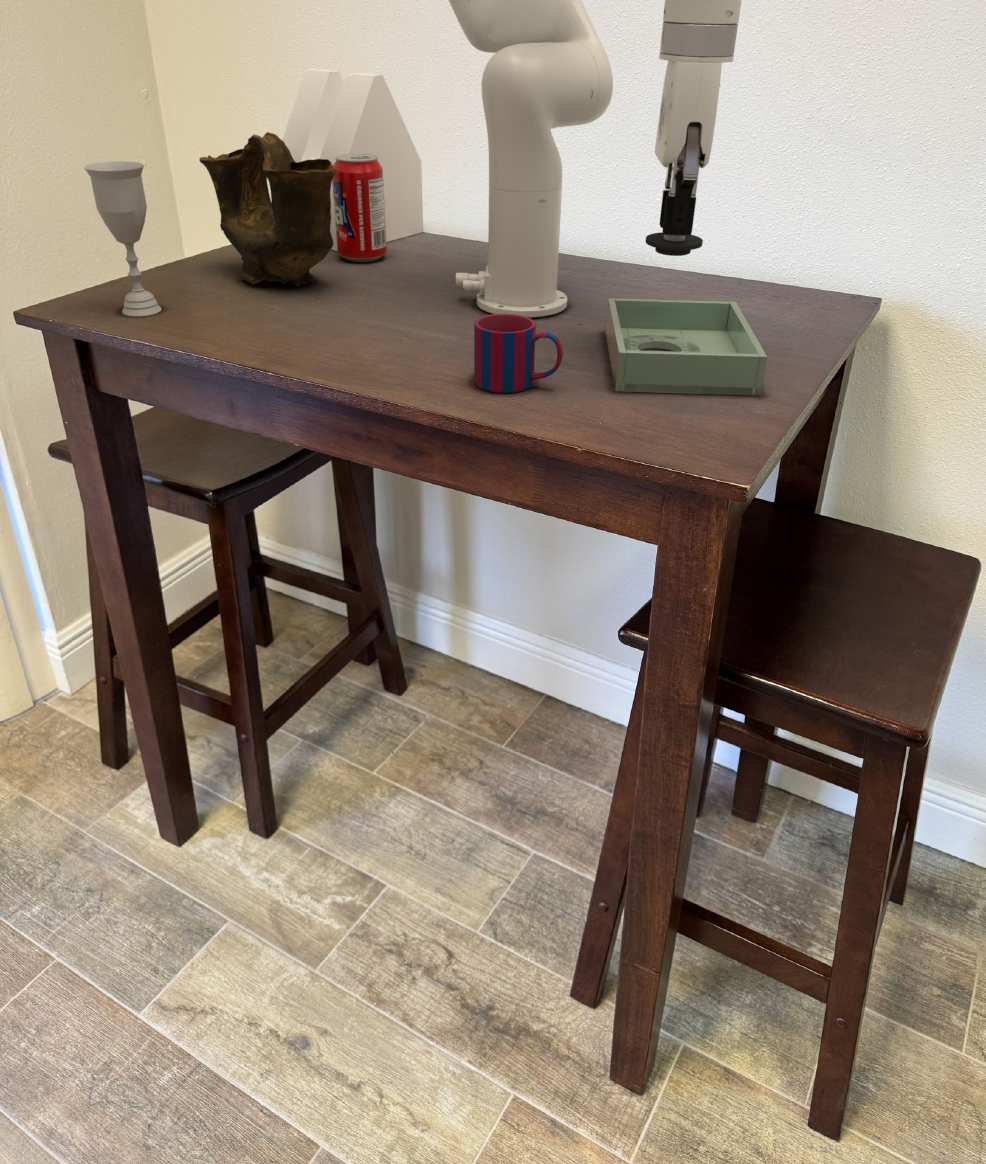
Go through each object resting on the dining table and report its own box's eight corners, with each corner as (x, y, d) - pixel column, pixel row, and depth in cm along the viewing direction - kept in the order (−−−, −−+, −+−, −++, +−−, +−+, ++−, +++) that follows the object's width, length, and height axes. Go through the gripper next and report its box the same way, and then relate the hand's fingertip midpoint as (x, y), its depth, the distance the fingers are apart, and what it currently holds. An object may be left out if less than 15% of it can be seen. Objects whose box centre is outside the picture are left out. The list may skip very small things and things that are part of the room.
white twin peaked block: (359, 219, 173) (350, 65, 160) (423, 231, 166) (419, 71, 152) (281, 238, 160) (264, 72, 147) (346, 253, 153) (334, 79, 139)
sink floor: (615, 391, 104) (616, 382, 104) (605, 333, 121) (606, 325, 120) (760, 395, 104) (761, 387, 103) (730, 336, 120) (731, 328, 120)
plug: (647, 257, 105) (653, 197, 101) (642, 243, 110) (648, 186, 106) (704, 259, 104) (713, 199, 101) (697, 245, 110) (704, 187, 106)
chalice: (180, 307, 127) (156, 164, 118) (145, 321, 122) (116, 172, 112) (138, 299, 130) (111, 159, 120) (102, 313, 125) (70, 167, 115)
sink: (615, 391, 104) (618, 352, 102) (605, 333, 121) (608, 298, 118) (760, 395, 104) (767, 356, 101) (730, 336, 120) (735, 301, 118)
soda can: (384, 264, 147) (379, 161, 139) (334, 263, 147) (326, 160, 139) (389, 252, 154) (385, 152, 146) (341, 251, 154) (334, 151, 146)
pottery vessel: (362, 291, 135) (353, 140, 124) (300, 306, 129) (284, 148, 118) (263, 257, 150) (247, 120, 139) (202, 270, 143) (181, 126, 132)
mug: (491, 367, 110) (492, 309, 106) (569, 383, 106) (573, 324, 102) (463, 386, 105) (463, 326, 101) (544, 403, 101) (547, 341, 97)
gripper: (653, 37, 102) (635, 214, 113) (669, 48, 89) (648, 248, 99) (722, 39, 102) (698, 216, 112) (749, 50, 89) (719, 250, 99)
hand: (675, 229), depth 106 cm, fingers closed on plug, 2 cm apart
